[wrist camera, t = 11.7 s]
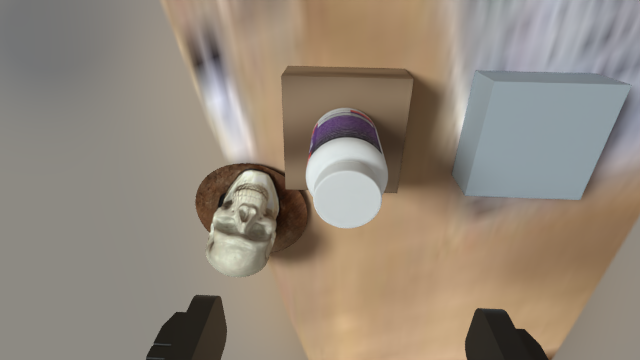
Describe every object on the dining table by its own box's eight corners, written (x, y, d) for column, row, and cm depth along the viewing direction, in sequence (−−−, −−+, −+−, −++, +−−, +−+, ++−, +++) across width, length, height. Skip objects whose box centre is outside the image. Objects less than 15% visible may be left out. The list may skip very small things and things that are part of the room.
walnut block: (287, 65, 30) (281, 75, 26) (404, 68, 29) (413, 79, 26) (290, 169, 34) (285, 189, 31) (390, 172, 34) (396, 193, 31)
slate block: (475, 70, 29) (494, 81, 26) (595, 73, 29) (631, 84, 25) (451, 174, 34) (464, 195, 30) (554, 178, 34) (580, 199, 30)
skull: (195, 143, 32) (247, 209, 27) (281, 145, 40) (337, 196, 34) (173, 238, 38) (213, 311, 32) (253, 224, 45) (297, 281, 39)
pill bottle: (300, 123, 28) (284, 180, 19) (362, 95, 26) (374, 143, 18) (328, 176, 30) (325, 249, 21) (386, 153, 29) (407, 220, 20)
